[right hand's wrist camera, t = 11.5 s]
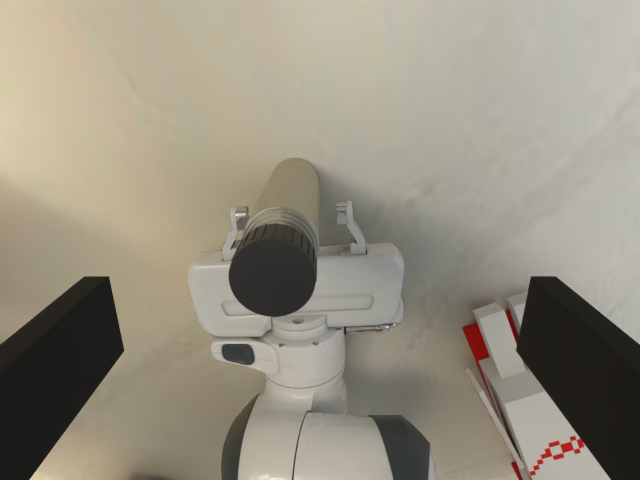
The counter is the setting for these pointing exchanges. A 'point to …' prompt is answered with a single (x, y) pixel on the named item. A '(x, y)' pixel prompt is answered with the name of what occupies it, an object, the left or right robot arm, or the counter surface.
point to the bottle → (290, 200)
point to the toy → (524, 401)
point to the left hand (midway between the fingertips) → (291, 205)
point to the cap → (273, 270)
